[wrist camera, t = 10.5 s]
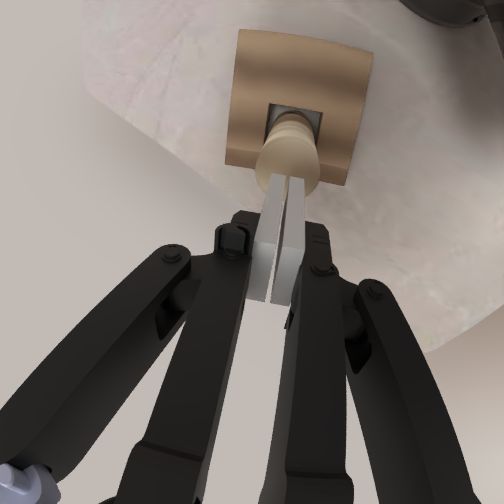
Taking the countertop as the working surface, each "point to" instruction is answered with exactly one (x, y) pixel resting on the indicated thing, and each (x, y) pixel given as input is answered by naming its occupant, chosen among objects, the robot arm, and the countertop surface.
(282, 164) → the peg
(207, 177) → the countertop surface
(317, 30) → the countertop surface
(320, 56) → the board
